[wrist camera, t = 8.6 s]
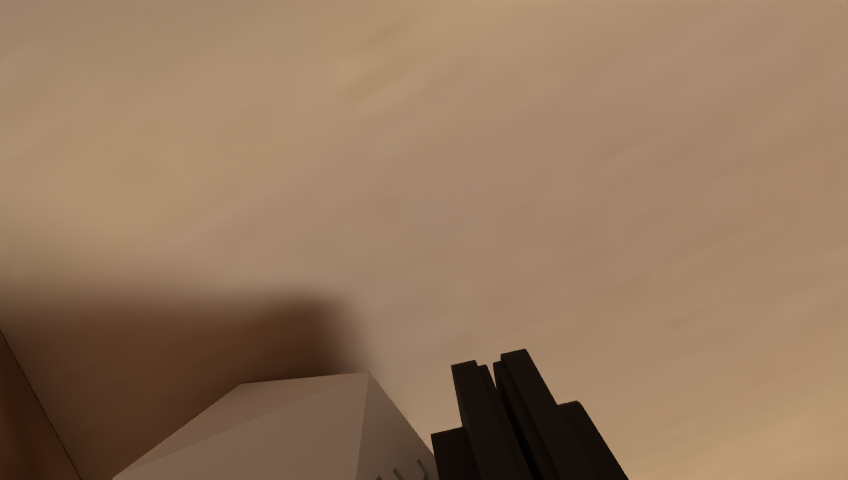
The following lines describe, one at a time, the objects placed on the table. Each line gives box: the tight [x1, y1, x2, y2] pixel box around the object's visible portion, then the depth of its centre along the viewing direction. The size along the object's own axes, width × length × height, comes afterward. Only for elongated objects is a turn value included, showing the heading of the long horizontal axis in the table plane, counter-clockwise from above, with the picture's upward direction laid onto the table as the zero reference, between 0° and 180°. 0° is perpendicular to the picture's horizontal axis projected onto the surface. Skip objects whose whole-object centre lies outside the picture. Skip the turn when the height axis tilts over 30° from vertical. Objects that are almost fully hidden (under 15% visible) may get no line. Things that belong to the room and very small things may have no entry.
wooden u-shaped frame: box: [0, 332, 81, 480], centre depth 13 cm, size 24×15×2 cm, turn 10°
